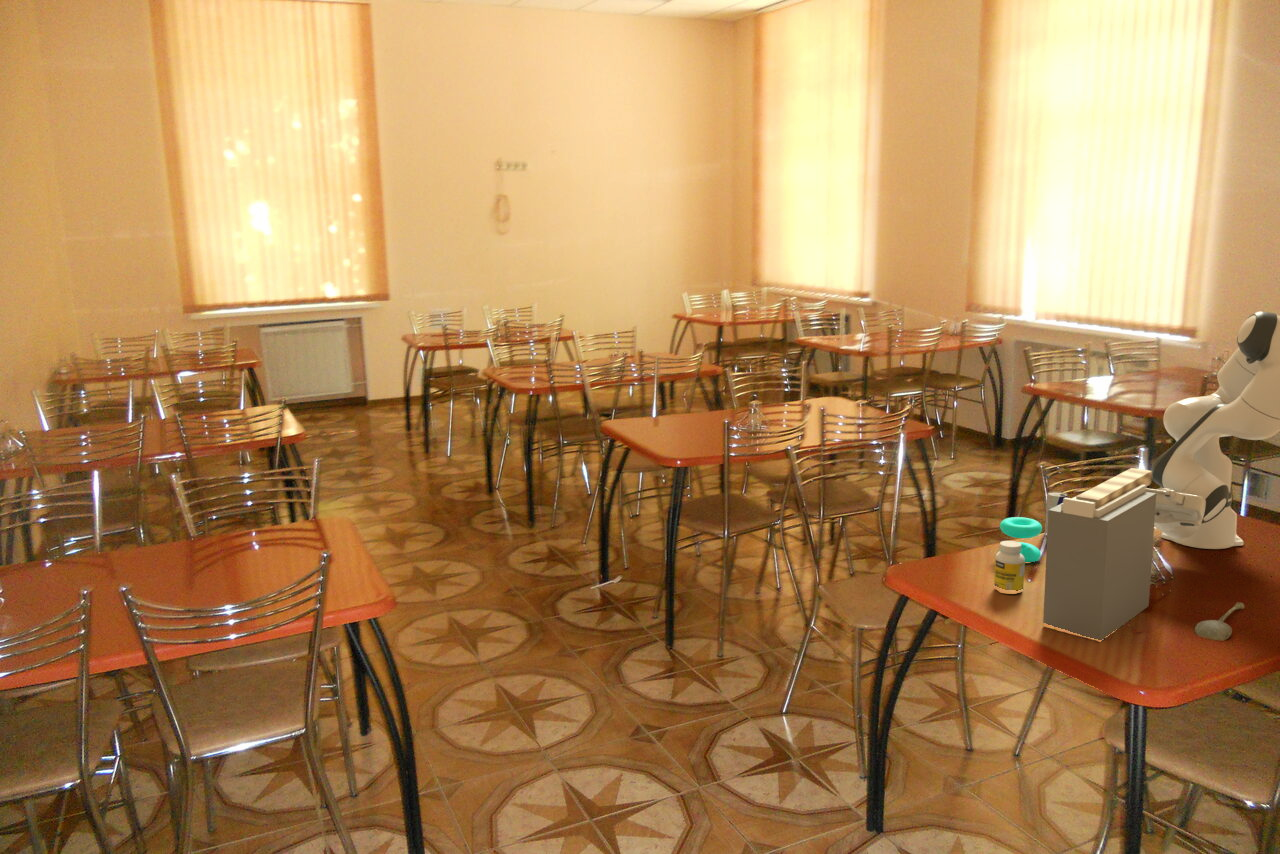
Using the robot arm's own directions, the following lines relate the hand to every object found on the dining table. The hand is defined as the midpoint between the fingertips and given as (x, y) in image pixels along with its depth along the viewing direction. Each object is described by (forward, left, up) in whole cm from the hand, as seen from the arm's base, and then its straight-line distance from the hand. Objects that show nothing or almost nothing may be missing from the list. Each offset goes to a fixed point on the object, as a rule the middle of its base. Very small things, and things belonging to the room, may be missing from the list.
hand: (1147, 489), depth 223 cm
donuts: (-10, -28, -24) cm, 38 cm away
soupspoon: (+17, +16, -24) cm, 33 cm away
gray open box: (+23, -9, -23) cm, 34 cm away
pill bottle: (+14, -28, -23) cm, 39 cm away
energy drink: (-32, -21, -23) cm, 45 cm away
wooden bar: (+18, -6, +3) cm, 20 cm away
